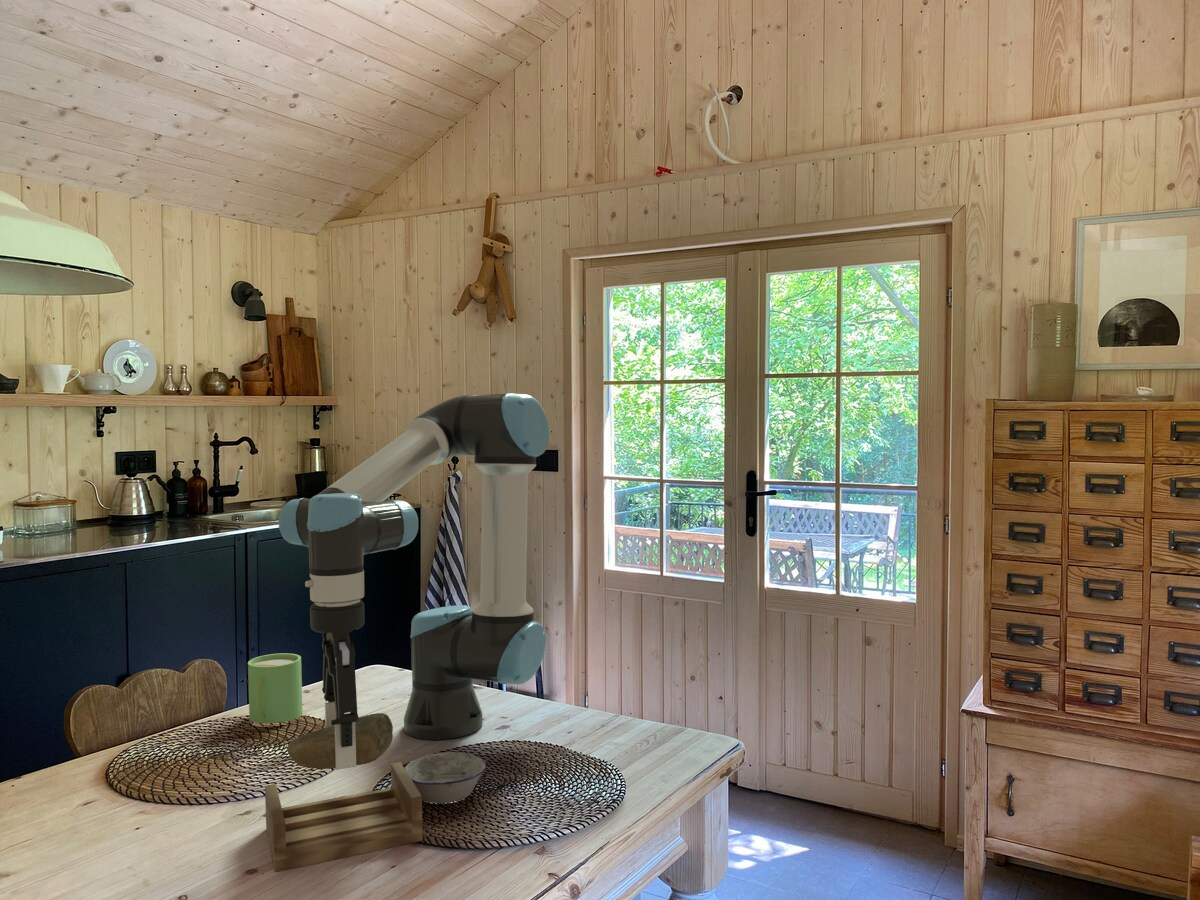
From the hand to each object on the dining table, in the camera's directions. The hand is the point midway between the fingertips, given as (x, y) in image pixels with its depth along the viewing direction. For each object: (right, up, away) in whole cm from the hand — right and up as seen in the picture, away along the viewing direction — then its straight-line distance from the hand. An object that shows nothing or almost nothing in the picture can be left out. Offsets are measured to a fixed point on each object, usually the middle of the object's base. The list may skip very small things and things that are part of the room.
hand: (340, 755), depth 130 cm
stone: (0, -1, 0) cm, 1 cm away
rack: (0, -12, +1) cm, 12 cm away
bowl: (+13, -11, +14) cm, 22 cm away
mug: (-28, -10, +50) cm, 58 cm away
